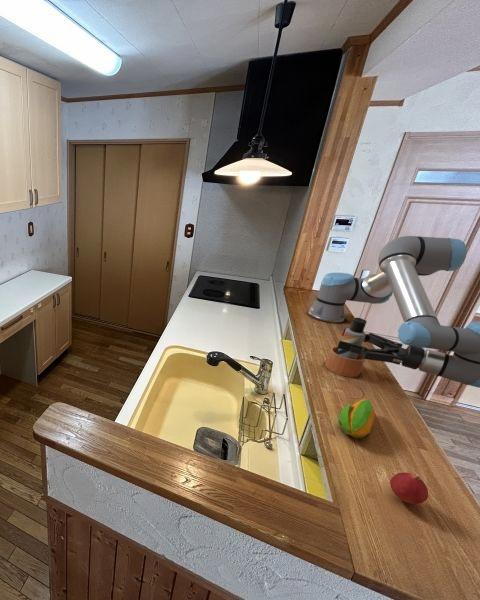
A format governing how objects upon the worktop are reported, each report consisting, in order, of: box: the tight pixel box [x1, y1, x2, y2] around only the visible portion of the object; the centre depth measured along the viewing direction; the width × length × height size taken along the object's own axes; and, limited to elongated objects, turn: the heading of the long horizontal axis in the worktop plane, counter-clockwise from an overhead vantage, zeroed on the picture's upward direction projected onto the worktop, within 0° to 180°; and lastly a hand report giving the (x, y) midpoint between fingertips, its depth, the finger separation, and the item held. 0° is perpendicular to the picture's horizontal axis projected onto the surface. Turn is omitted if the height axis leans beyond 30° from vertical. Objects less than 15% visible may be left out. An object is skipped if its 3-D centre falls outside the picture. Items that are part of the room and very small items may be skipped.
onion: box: [389, 472, 429, 505], centre depth 70 cm, size 6×6×8 cm
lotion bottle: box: [337, 317, 367, 360], centre depth 118 cm, size 6×6×20 cm
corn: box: [338, 398, 376, 439], centre depth 93 cm, size 7×8×20 cm
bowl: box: [324, 345, 366, 378], centre depth 120 cm, size 10×10×7 cm
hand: (340, 337), depth 119 cm, fingers open, 13 cm apart
